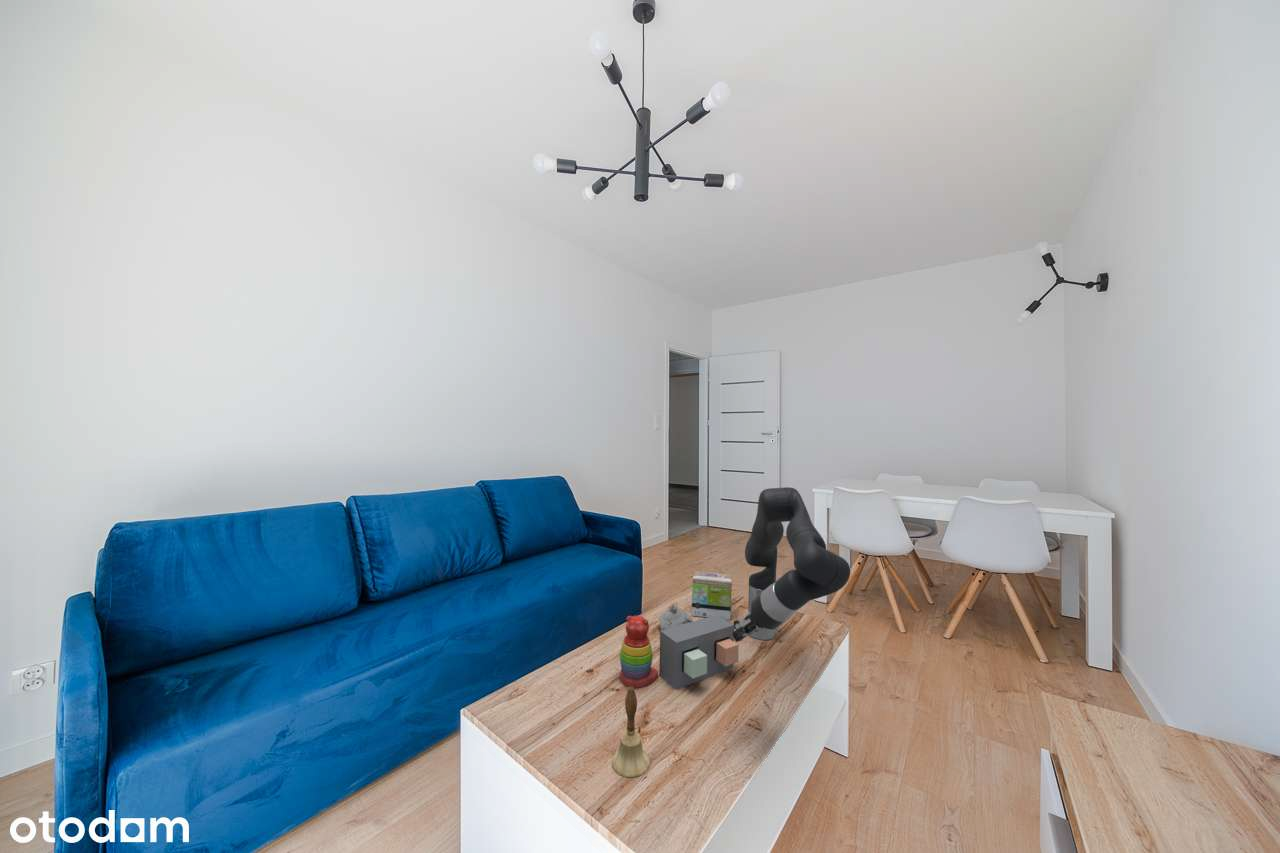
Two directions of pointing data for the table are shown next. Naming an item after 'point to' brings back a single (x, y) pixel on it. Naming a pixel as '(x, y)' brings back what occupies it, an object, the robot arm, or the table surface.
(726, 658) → the salmon button
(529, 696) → the table surface
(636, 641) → the stacking bear
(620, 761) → the hand bell
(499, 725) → the table surface
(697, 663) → the sage button
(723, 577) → the tea box
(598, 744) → the table surface
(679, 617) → the grey clay mound
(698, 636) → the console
